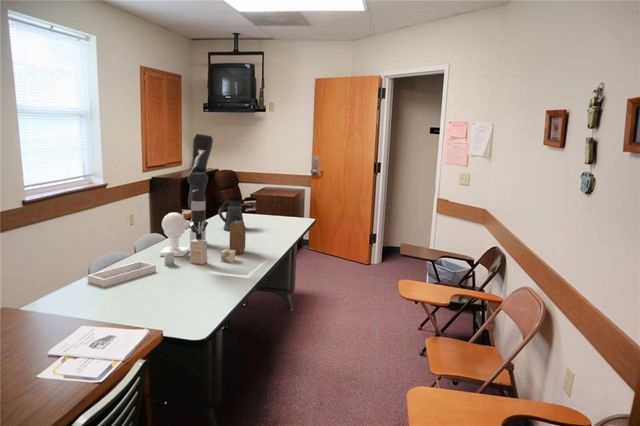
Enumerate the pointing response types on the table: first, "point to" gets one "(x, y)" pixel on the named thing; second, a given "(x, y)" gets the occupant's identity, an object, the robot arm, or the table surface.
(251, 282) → the table surface
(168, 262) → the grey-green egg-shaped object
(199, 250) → the supplement box
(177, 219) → the trophy
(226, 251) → the light wooden cube
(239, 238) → the block
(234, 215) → the beer stein
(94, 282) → the tray
